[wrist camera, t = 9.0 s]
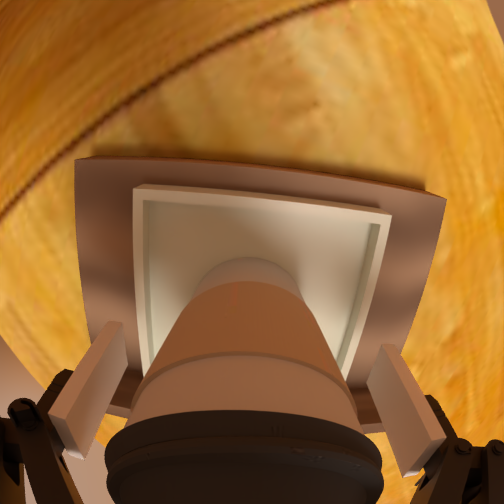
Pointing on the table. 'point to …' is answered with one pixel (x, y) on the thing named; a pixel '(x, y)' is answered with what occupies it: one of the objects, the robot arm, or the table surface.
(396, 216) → the shelf
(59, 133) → the table surface
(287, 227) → the tray
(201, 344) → the coffee cup
